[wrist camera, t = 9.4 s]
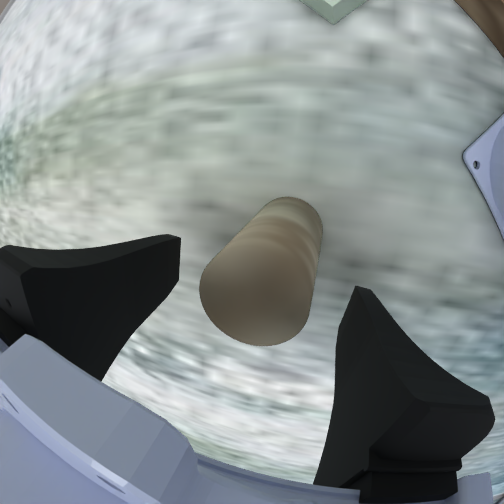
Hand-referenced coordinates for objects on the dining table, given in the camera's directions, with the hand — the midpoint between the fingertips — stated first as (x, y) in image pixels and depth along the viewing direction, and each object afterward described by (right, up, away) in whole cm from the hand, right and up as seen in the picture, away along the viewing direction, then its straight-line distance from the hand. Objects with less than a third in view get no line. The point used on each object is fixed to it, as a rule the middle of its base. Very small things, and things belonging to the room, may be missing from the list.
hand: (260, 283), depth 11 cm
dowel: (+2, +2, +6) cm, 7 cm away
